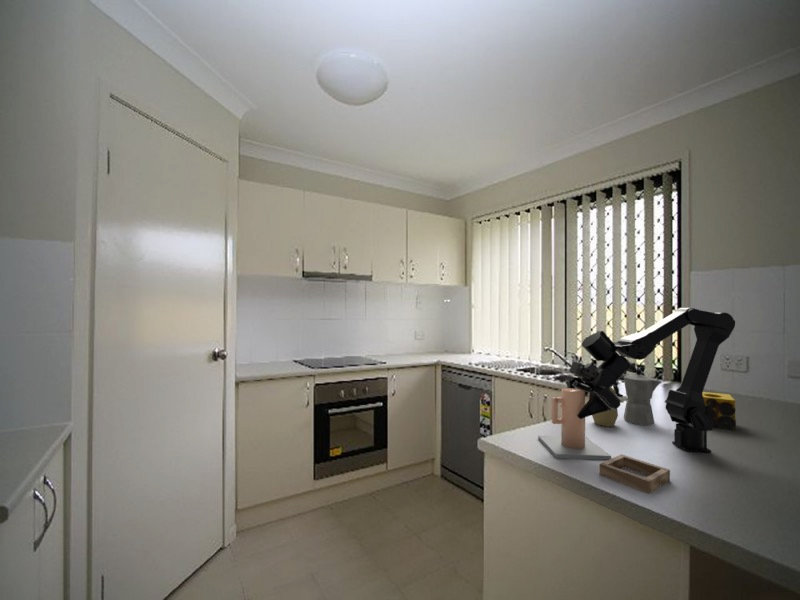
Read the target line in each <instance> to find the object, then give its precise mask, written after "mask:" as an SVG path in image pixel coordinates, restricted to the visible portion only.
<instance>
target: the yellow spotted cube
mask: <svg viewBox="0 0 800 600" xmlns="http://www.w3.org/2000/svg"><path fill="white" fill-rule="evenodd" d="M702 395H703V398H704V402H705V410H704V414H705V415H706V416H707V417H708V418H709V419H710V420H711V421H712V422H713V423H714V426H713V429H714V428H715V429H721V430H726V431H727V430H728V431H737V420H736V419H737V418H736V399H734V397H732V395H731V394H728V393H718V392H709V391H708V392H707V391H703V393H702Z"/></svg>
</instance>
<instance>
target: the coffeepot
mask: <svg viewBox="0 0 800 600" xmlns="http://www.w3.org/2000/svg"><path fill="white" fill-rule="evenodd" d="M636 371H637V373H634V374H628V375H627V374H625V373H624V374H623V375H622V376H621V377H620V378H619V379H618V380H621V381H624V388H625V395H626V396H627V400H626V403H625V407H624V413H623V419H624V421H625V422H628V423H629V422H630V424H632V425H639V426H652V425H655V424H656V423H655V418H654V413H653V407H652V404H651V399H653V393H654V391H655V390H656V388H658V386H659V385H660V384H662V383H663V382H662V381H661V380H659V379H655V378H652V377H650V376H646V375H643V374H642V370H641V369H639V368H636ZM612 388H613V389H614V390H615V393H616V396H617V397H618V398H623V397H624V394H621V393H620V389H619V385H617V386H616V387H615V386H612Z"/></svg>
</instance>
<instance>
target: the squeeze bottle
mask: <svg viewBox="0 0 800 600" xmlns="http://www.w3.org/2000/svg"><path fill="white" fill-rule="evenodd" d="M610 390H611V391H612V392H613V393H614V394H615V395H616V393H615V390H614V388H613V387H611V388H610ZM610 409H611V408H610ZM591 417H592V420H593V422H594V424H596V425H599V426H601V425H602V426H603V427H614V426H615V424H616V422H617V419H618V417H619V412H618V408H617V409H616V410H614V409H611V411H609V410H608V411H604V412H601V413H597V414H594V415H591Z"/></svg>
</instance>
